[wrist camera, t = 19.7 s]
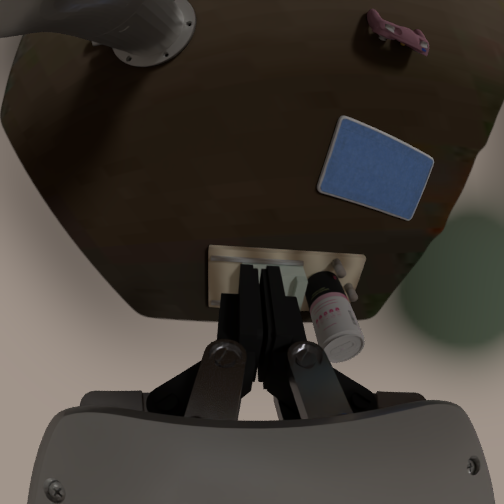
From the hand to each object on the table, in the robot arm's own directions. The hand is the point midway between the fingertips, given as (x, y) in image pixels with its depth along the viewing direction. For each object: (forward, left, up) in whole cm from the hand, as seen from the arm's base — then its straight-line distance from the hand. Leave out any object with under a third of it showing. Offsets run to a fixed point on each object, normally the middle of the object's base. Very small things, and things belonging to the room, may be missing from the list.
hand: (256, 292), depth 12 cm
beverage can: (+15, -20, -28) cm, 38 cm away
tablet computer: (+21, +1, -30) cm, 37 cm away
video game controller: (+20, +24, -29) cm, 43 cm away
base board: (+9, -20, -29) cm, 37 cm away
